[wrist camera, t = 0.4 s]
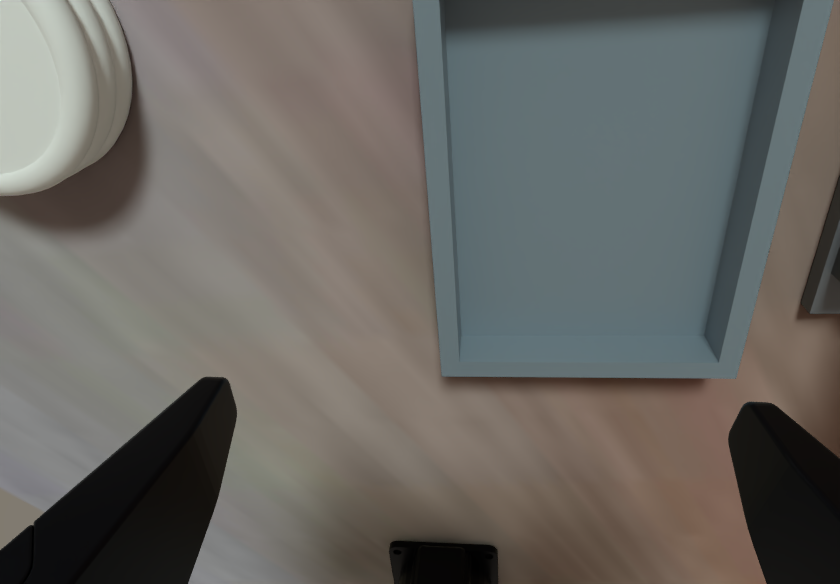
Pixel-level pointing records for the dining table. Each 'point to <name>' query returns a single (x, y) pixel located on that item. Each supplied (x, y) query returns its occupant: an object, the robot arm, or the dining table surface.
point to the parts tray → (607, 177)
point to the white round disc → (59, 89)
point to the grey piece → (826, 266)
